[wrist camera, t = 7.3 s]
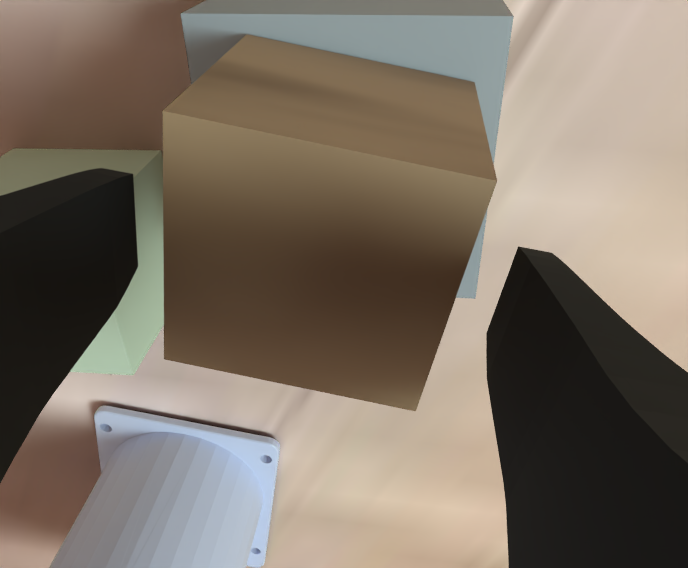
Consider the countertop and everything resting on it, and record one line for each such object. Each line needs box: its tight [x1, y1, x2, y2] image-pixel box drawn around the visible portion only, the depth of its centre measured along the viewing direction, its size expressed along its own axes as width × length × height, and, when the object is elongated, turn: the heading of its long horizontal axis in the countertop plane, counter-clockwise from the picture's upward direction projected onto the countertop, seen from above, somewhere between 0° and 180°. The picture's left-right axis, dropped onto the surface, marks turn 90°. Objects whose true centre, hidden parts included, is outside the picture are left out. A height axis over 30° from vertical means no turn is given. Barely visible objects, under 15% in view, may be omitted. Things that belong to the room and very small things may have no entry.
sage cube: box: [0, 148, 164, 375], centre depth 18 cm, size 5×5×5 cm
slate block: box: [181, 0, 513, 299], centre depth 16 cm, size 7×7×4 cm
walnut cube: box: [163, 34, 497, 411], centre depth 12 cm, size 5×5×5 cm
